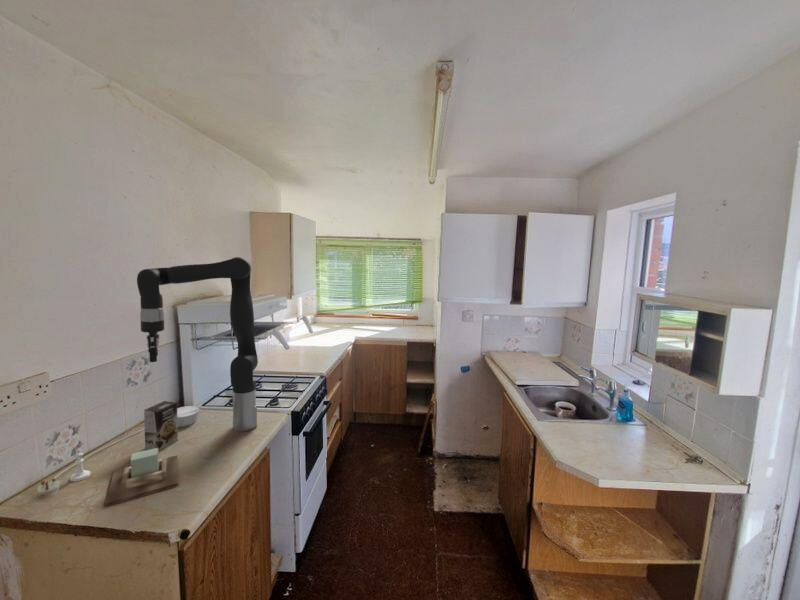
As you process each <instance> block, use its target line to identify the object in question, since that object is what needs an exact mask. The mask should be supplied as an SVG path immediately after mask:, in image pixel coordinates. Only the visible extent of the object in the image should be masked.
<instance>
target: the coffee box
mask: <svg viewBox="0 0 800 600" xmlns="http://www.w3.org/2000/svg"><path fill="white" fill-rule="evenodd" d="M177 408H178V402H174V401H165V400H164V401H162V402H159V403H156V404H155V405H153V406H150V407H148V408H145V409H144V410H143V417H144V418H143V419H144V448H145V451H146V450H150V449H155V448H158V453H159V452H160V451H162V450H164V449H165V448H166V447H169V446H170V445H172V444H173V443H174V444H175V443H176V442H178V441H179V433H178V430H179V429H178V428H179V427H178V426H177Z"/></svg>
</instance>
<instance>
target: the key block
mask: <svg viewBox="0 0 800 600" xmlns="http://www.w3.org/2000/svg"><path fill="white" fill-rule="evenodd" d="M159 457H160V456H159V452H158V448H155V449H150V450H146V449H145V450H142V451H137V452H133V453H132V454H131V458H130V466H131V478H134V477H138V476H142V475H146V474H150V473H154V472H158V471H159V459H160V458H159Z"/></svg>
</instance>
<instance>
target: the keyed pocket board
mask: <svg viewBox="0 0 800 600" xmlns="http://www.w3.org/2000/svg"><path fill="white" fill-rule="evenodd" d="M178 460H179V457H178V455H177V454H176V455H173V456H168V457H164V458H159V471H158V472H154V473H150V474H146V475H142V476H138V477H134V478H131V465H130V466H126V467H123V468H118V469H115V470H113V475H112V478H111V481H110V486H109V488H108V489H109V490H108V492H107V496H106V500H105V507H107V506H111V505H115V504H118V503H122V502H125V501H128V500H132V499H136V498H139V497H144V496H147V495H150V494H154V493H156V492H157V493H158V492H161V491H164V490H169V489H171V488H175V487H178V486H179V461H178Z"/></svg>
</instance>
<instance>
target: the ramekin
mask: <svg viewBox="0 0 800 600" xmlns="http://www.w3.org/2000/svg"><path fill="white" fill-rule="evenodd" d="M199 413H200V408H199V407H198V406H195V405H185V406H180V407H177V426H178V428H182V427H188V426H190V425H193V424H194V423H196V422H197V420H198V418H199V417H198V416H199Z"/></svg>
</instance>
